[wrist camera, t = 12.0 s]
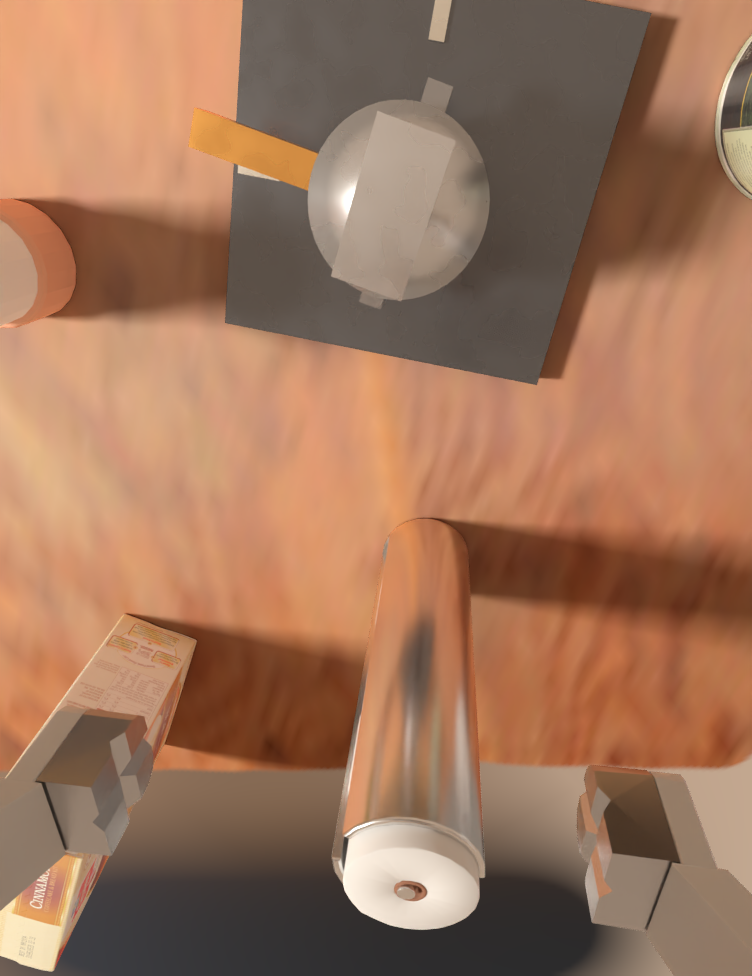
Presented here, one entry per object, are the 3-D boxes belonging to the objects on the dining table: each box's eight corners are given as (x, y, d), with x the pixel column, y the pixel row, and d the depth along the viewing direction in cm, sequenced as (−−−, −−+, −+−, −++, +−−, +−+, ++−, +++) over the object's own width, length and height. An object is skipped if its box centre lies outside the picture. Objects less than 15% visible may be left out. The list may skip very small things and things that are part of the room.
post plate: (642, 19, 31) (675, -5, 27) (533, 377, 40) (544, 403, 36) (255, -55, 31) (223, -91, 27) (232, 317, 40) (205, 336, 36)
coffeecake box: (165, 745, 60) (53, 976, 43) (95, 721, 60) (-47, 945, 43) (201, 639, 54) (84, 862, 36) (122, 610, 53) (-35, 823, 36)
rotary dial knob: (520, 115, 29) (547, 97, 21) (440, 325, 34) (439, 371, 26) (236, 6, 28) (157, -54, 21) (196, 237, 33) (119, 258, 25)
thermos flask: (430, 501, 45) (413, 822, 23) (485, 559, 47) (520, 909, 25) (365, 548, 47) (294, 879, 25) (420, 602, 49) (399, 954, 27)
